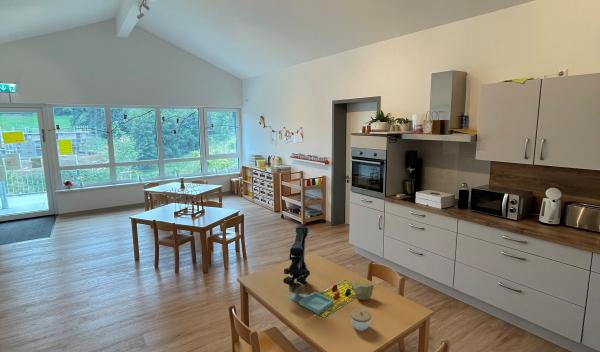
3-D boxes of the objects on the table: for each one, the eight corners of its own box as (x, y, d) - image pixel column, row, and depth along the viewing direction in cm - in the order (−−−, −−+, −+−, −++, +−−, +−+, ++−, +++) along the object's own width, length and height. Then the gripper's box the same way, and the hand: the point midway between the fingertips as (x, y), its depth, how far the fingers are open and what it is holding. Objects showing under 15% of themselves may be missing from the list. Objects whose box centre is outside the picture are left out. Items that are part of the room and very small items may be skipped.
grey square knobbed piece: (296, 291, 217) (296, 283, 216) (308, 297, 210) (308, 288, 209) (286, 297, 210) (285, 289, 209) (297, 303, 203) (297, 295, 202)
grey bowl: (375, 303, 203) (376, 286, 212) (370, 292, 198) (371, 276, 207) (352, 304, 210) (354, 288, 218) (346, 294, 204) (348, 278, 213)
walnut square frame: (296, 286, 214) (296, 281, 213) (307, 291, 208) (307, 285, 207) (289, 291, 209) (289, 285, 208) (299, 296, 203) (299, 290, 202)
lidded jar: (348, 321, 185) (348, 306, 183) (367, 320, 186) (368, 305, 184) (353, 334, 174) (353, 318, 173) (373, 333, 175) (373, 317, 174)
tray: (314, 295, 213) (314, 291, 212) (333, 303, 203) (333, 300, 202) (298, 304, 202) (298, 301, 201) (317, 314, 192) (318, 310, 191)
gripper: (297, 257, 218) (297, 279, 221) (276, 267, 205) (277, 290, 208) (310, 262, 211) (310, 285, 214) (289, 272, 197) (290, 297, 200)
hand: (297, 289), depth 209 cm, fingers closed on walnut square frame, 7 cm apart
